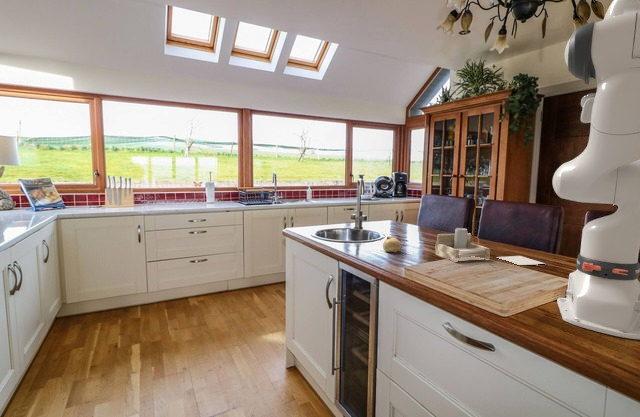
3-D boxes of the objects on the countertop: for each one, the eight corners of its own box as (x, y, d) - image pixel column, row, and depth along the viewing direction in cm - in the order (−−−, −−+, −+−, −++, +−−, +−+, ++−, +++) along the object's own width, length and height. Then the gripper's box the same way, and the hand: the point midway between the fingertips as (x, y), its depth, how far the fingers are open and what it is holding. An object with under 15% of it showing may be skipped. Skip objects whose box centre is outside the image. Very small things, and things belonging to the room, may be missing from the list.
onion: (394, 249, 152) (395, 234, 152) (404, 253, 145) (405, 237, 144) (379, 250, 150) (380, 235, 149) (388, 254, 142) (389, 238, 142)
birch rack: (489, 260, 134) (491, 239, 133) (455, 262, 131) (456, 240, 130) (466, 252, 148) (467, 232, 147) (435, 254, 144) (436, 233, 143)
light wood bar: (484, 260, 134) (485, 249, 134) (458, 262, 131) (459, 251, 131) (477, 258, 138) (478, 247, 138) (451, 259, 135) (452, 248, 135)
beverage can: (451, 256, 140) (453, 228, 139) (456, 254, 144) (457, 227, 142) (463, 258, 137) (465, 230, 136) (467, 256, 140) (469, 228, 139)
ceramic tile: (545, 264, 129) (545, 263, 129) (519, 266, 126) (519, 265, 126) (520, 257, 141) (520, 255, 141) (496, 258, 138) (496, 257, 138)
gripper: (581, 92, 106) (577, 136, 108) (673, 81, 93) (667, 131, 94) (582, 96, 111) (578, 137, 112) (670, 86, 97) (664, 133, 99)
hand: (619, 135), depth 103 cm, fingers open, 8 cm apart
